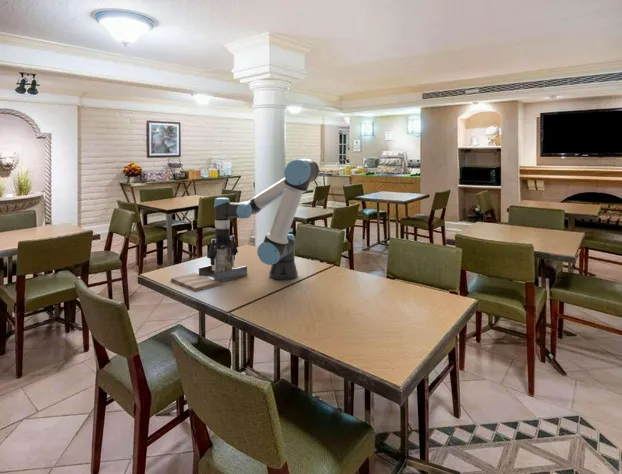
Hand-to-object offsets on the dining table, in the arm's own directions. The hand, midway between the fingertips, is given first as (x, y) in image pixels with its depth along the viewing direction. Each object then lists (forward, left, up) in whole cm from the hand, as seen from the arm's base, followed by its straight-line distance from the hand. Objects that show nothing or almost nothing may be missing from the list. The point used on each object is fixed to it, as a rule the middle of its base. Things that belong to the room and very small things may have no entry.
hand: (223, 268), depth 218 cm
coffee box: (0, 0, -4) cm, 4 cm away
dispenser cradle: (0, 0, -4) cm, 4 cm away
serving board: (0, +17, -4) cm, 17 cm away
